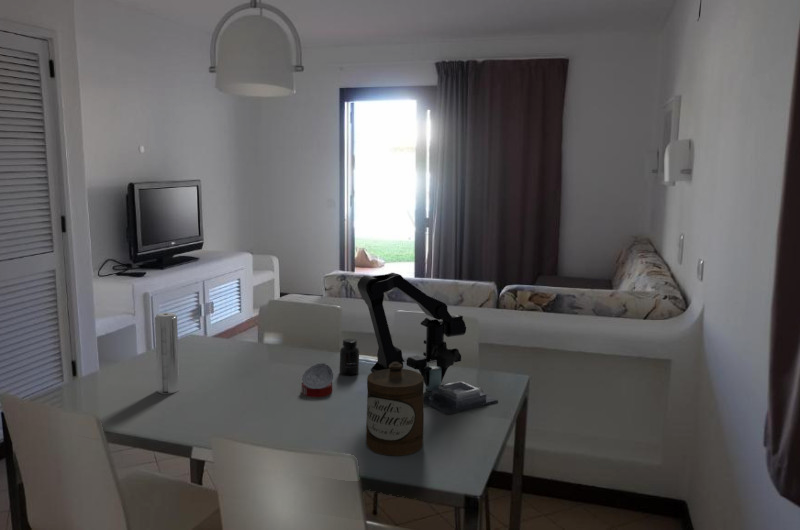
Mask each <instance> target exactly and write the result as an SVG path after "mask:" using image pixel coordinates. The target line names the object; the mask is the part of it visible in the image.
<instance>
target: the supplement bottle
mask: <svg viewBox="0 0 800 530" xmlns="http://www.w3.org/2000/svg"><path fill="white" fill-rule="evenodd" d="M357 341H358V340H357V339H354V338H344V339H343V340H342V346H341V348H340V349H339V350H340V351H339V367H338V368H339V371H338V372H339V374H340V375H341V376H346V377H353V375H354V376H356V374H357V375H358V374H359V371H360V368H359V367H360V349H359V347H357V345H358V344H357V343H358V342H357Z"/></svg>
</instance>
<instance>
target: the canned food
mask: <svg viewBox="0 0 800 530" xmlns="http://www.w3.org/2000/svg"><path fill="white" fill-rule="evenodd" d="M301 380H302V382H301V394H302V395H303V396H306V397H308V398H309V397H310V398H322V397H327V396H329V395H331V394H332V393H333V380H334V373H333V369H332V367H330V365H328V364H326V363H316V364H313V365H312V366H310V367H309V368H308V369H306V370H305V371H304V373H303V374H302V379H301Z"/></svg>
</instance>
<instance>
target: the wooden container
mask: <svg viewBox="0 0 800 530" xmlns="http://www.w3.org/2000/svg"><path fill="white" fill-rule="evenodd" d="M366 377H367V378H366V388H367V398H366V399H367V400H366V401H367V402H366V420H365V421H366V423H365V424H366V425H365V429H366V433H365V434H366V435H365V436H366V440H365V441H366V443H365V444H366V446H367V447H368V449H369V450H371V451H372V452H374V453H377V454H380V455H384V456H392V457H401V456H406V455H410V454H414V453H416V452H418V451H420V450H421V448H423V446H424V425H425V424H424V420H425V419H424V417H425V416H424V412H425V411H424V402H423V397H424V385H425V382H424V379H423V376H422V375H421V373H420V372H418V371H416V370H411V369H407V368H406V369H405V368H403V369H402V364H401V363H399V362H392V363H391V364H390V365H389V369H383V370H378V371H375V372H370V373H369V374H368V375H367V376H366Z"/></svg>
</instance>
